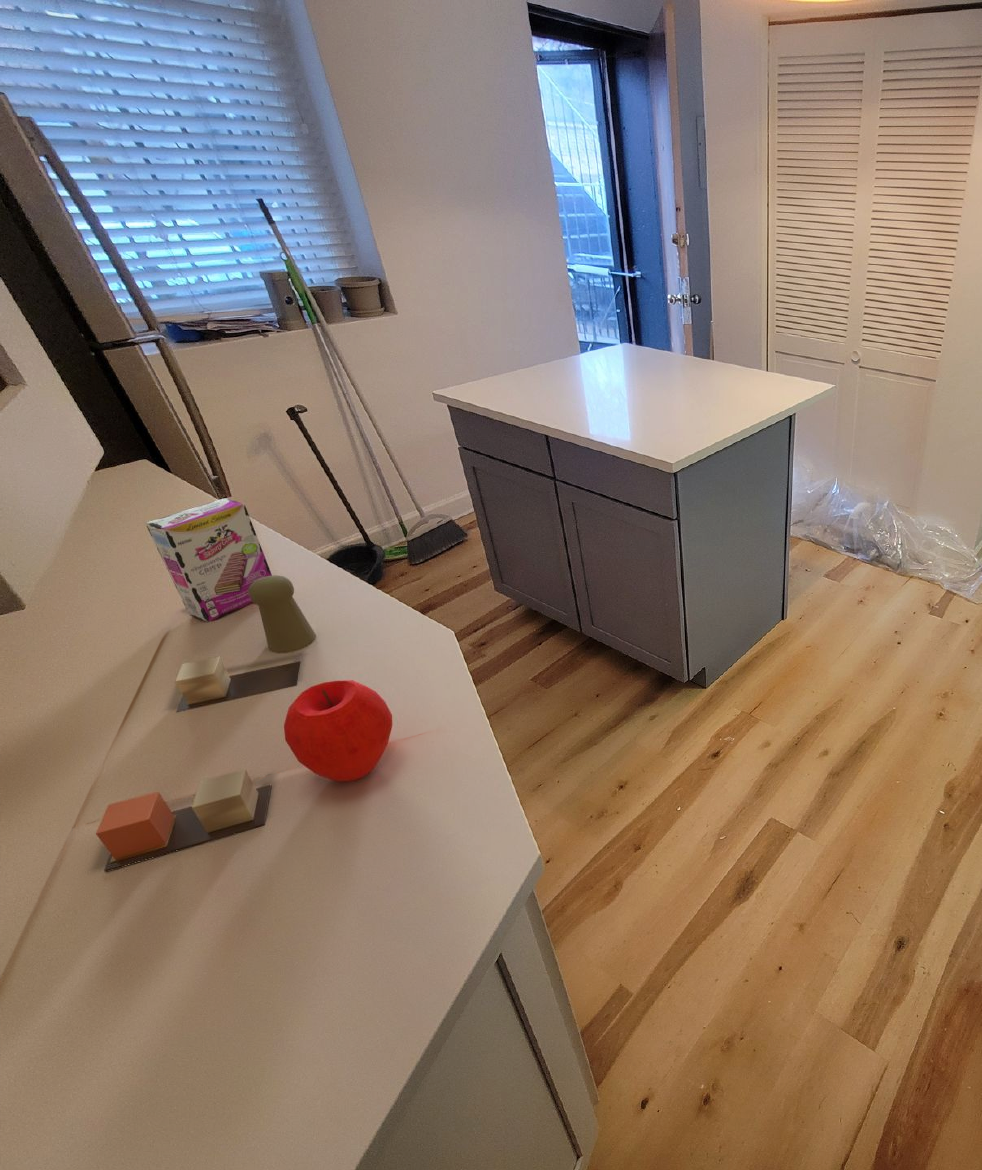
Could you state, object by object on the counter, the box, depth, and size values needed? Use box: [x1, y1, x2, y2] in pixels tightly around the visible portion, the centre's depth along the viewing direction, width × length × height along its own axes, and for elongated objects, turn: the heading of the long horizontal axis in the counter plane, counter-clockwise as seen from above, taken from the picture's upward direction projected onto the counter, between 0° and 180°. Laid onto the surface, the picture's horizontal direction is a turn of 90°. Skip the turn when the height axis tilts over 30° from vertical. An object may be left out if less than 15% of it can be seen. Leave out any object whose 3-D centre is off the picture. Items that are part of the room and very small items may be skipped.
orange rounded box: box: [95, 791, 175, 859], centre depth 66 cm, size 4×4×4 cm
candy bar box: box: [144, 497, 273, 623], centre depth 100 cm, size 11×5×16 cm, turn 159°
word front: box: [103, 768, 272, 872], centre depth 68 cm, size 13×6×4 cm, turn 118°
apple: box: [283, 679, 393, 782], centre depth 73 cm, size 10×10×12 cm
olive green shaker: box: [248, 574, 317, 654], centre depth 94 cm, size 6×6×11 cm
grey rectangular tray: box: [174, 656, 302, 713], centre depth 87 cm, size 13×6×4 cm, turn 118°
